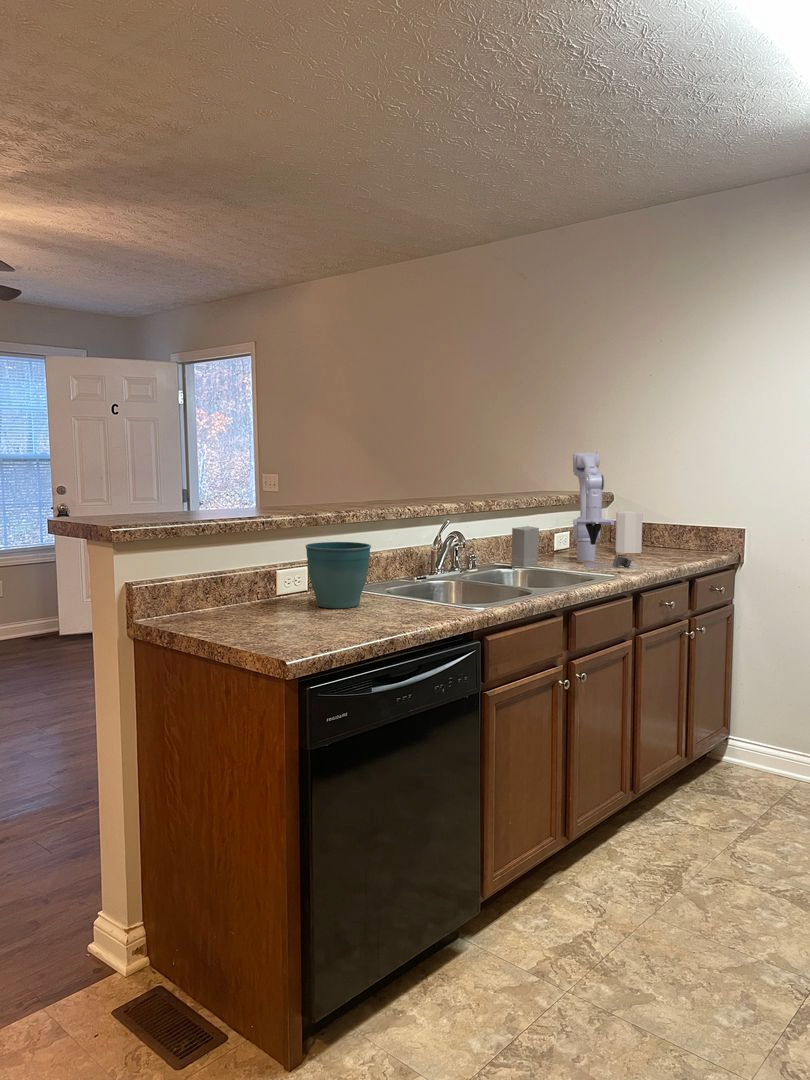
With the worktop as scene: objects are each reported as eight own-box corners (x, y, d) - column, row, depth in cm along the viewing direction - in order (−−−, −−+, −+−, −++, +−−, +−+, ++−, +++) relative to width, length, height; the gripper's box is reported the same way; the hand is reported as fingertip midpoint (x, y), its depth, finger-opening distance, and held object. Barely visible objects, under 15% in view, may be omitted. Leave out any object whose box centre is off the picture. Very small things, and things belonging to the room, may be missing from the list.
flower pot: (383, 603, 227) (383, 543, 226) (347, 613, 212) (346, 549, 210) (331, 598, 236) (330, 540, 235) (292, 607, 221) (292, 546, 219)
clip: (612, 564, 300) (616, 554, 299) (625, 569, 300) (628, 558, 299) (614, 566, 295) (618, 556, 294) (627, 570, 295) (631, 560, 294)
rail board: (581, 567, 305) (581, 562, 305) (635, 567, 304) (635, 563, 303) (586, 572, 292) (586, 567, 291) (643, 572, 290) (643, 568, 290)
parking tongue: (554, 566, 308) (554, 562, 308) (575, 566, 308) (575, 562, 307) (556, 568, 300) (556, 564, 300) (578, 569, 300) (578, 565, 299)
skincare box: (525, 567, 304) (525, 525, 302) (539, 569, 298) (540, 527, 297) (509, 569, 298) (510, 527, 297) (524, 571, 293) (524, 528, 291)
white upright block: (644, 554, 347) (646, 511, 345) (637, 557, 337) (638, 513, 335) (619, 553, 352) (620, 510, 351) (611, 555, 343) (612, 512, 341)
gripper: (575, 508, 293) (574, 545, 294) (615, 508, 291) (614, 545, 293) (572, 507, 300) (572, 543, 301) (612, 507, 298) (611, 543, 300)
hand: (593, 544), depth 297 cm, fingers closed
